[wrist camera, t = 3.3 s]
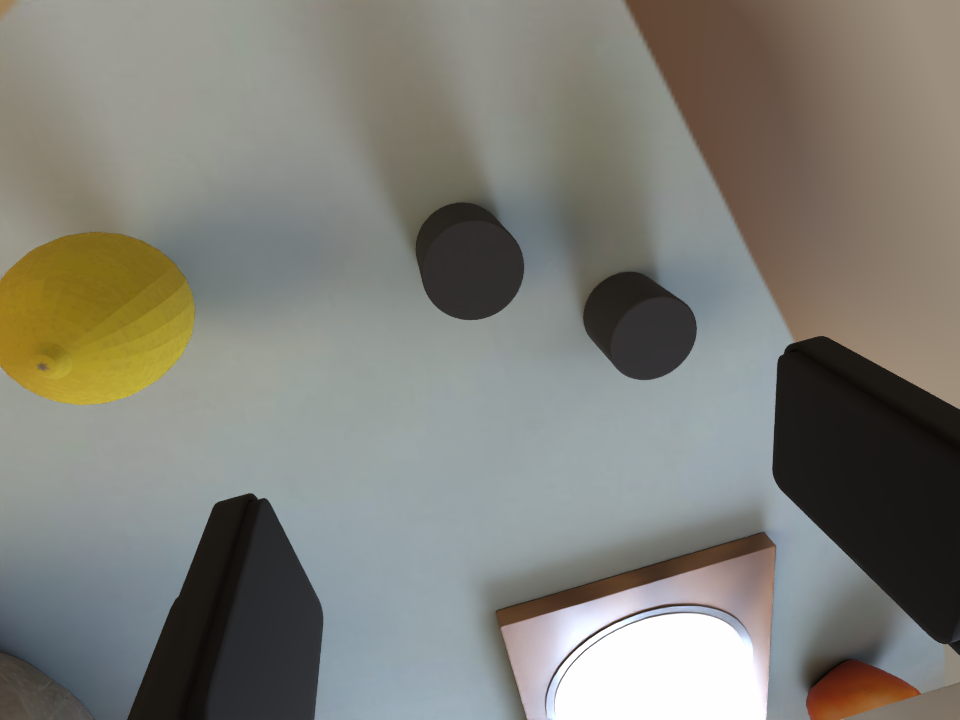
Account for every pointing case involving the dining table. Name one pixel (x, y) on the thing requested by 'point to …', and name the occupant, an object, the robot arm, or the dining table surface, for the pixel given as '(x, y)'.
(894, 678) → the fruit
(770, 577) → the board
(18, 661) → the bowl
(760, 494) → the dining table surface
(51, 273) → the lemon
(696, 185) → the dining table surface
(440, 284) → the dot
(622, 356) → the dot
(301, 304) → the dining table surface
